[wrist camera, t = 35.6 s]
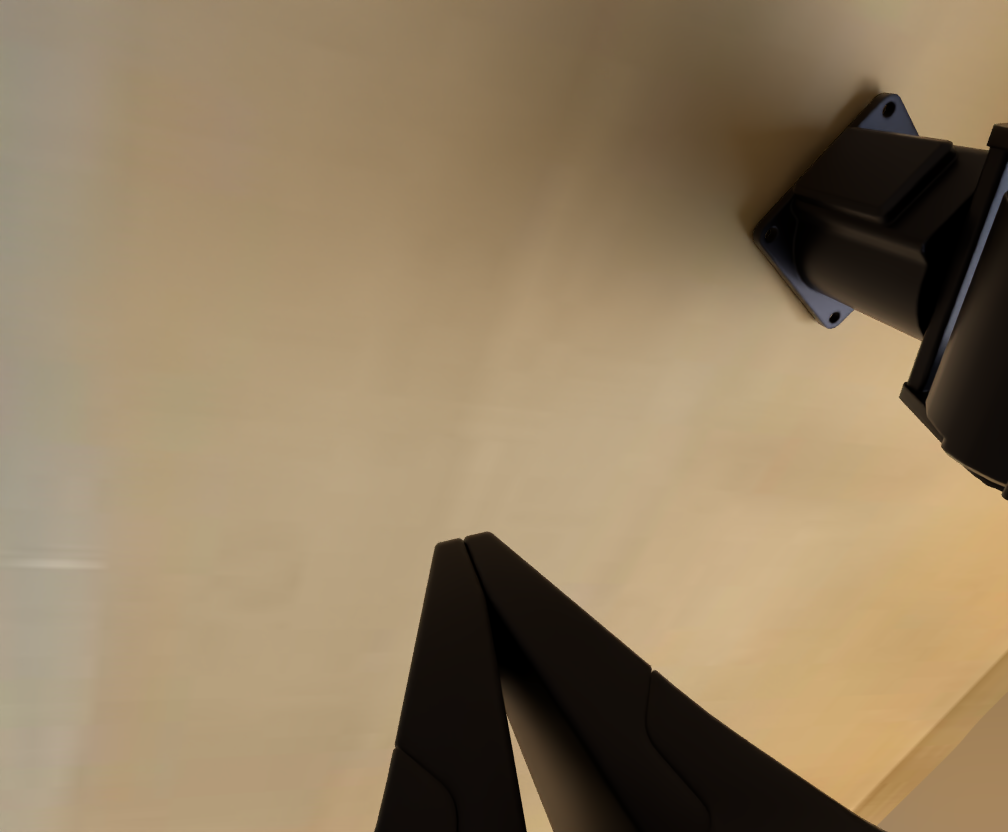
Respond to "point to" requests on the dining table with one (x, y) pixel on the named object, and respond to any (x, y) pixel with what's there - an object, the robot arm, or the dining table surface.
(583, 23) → the dining table surface
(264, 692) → the dining table surface
